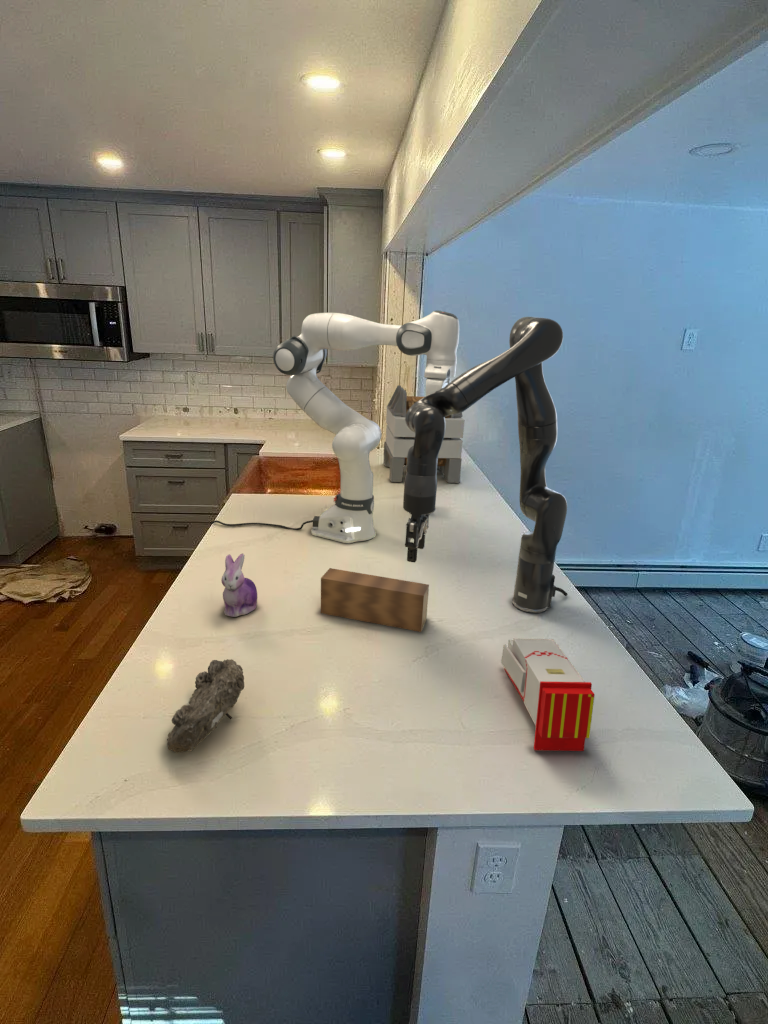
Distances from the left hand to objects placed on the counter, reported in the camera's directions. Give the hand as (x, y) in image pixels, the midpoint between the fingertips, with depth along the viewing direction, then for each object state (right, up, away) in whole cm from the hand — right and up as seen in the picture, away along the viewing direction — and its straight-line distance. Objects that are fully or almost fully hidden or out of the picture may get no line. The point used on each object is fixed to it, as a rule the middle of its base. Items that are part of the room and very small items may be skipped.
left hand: (436, 416), depth 171 cm
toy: (+16, -68, -55) cm, 89 cm away
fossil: (-49, -68, -63) cm, 105 cm away
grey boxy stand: (+1, -10, +104) cm, 104 cm away
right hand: (-8, -39, -34) cm, 53 cm away
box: (-19, -56, -25) cm, 64 cm away
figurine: (-53, -54, -25) cm, 80 cm away
